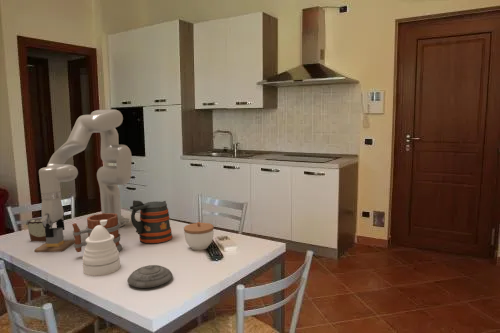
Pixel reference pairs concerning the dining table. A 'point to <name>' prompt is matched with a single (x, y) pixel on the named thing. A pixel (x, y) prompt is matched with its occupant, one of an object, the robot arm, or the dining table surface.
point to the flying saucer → (149, 276)
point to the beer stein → (152, 221)
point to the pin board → (55, 249)
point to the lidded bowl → (199, 235)
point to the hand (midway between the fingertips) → (55, 233)
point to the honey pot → (100, 252)
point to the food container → (36, 230)
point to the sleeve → (55, 238)
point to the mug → (94, 221)
